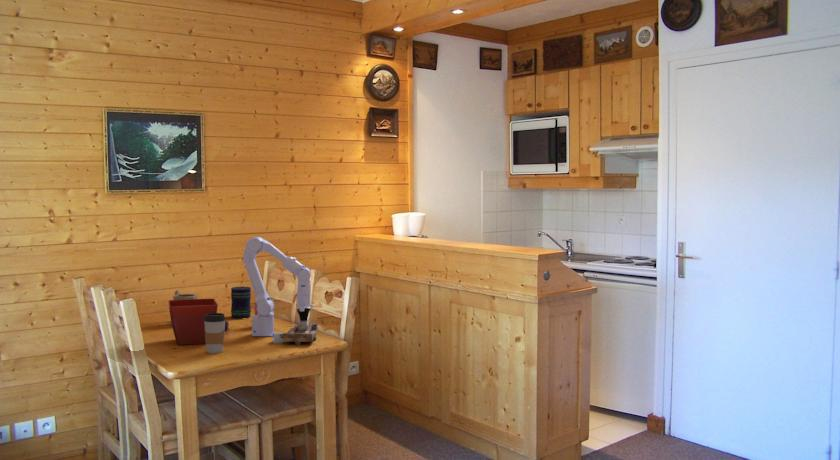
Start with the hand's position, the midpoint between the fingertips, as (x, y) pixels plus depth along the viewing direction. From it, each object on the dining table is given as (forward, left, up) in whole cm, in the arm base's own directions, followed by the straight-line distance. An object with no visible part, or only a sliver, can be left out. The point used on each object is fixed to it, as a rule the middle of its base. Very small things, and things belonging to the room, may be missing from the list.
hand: (303, 324), depth 315 cm
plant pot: (-45, -15, -5) cm, 48 cm away
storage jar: (-37, +43, -5) cm, 57 cm away
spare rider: (-9, -15, -5) cm, 18 cm away
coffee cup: (-31, -34, -5) cm, 46 cm away
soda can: (-22, +20, -5) cm, 30 cm away
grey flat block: (0, -9, -5) cm, 11 cm away
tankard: (-61, +26, -5) cm, 67 cm away
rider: (0, -3, -2) cm, 4 cm away
